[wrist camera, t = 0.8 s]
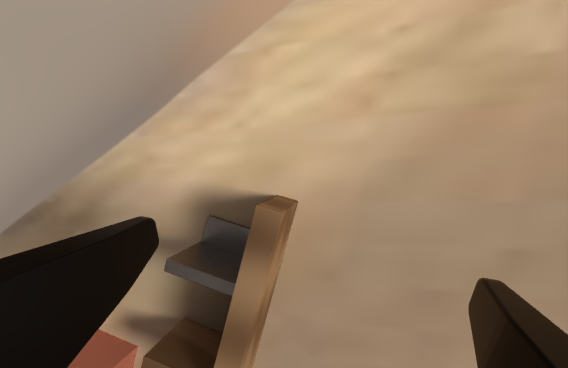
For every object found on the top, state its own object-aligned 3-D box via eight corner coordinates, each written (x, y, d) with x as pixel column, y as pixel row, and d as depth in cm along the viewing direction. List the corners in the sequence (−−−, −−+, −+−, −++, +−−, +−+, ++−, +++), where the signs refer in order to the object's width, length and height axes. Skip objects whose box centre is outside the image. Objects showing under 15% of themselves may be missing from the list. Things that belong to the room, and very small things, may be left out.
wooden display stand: (245, 392, 23) (212, 467, 18) (173, 362, 25) (120, 422, 19) (298, 201, 22) (281, 213, 16) (218, 177, 23) (176, 180, 17)
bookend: (264, 273, 23) (243, 302, 18) (200, 250, 24) (163, 272, 19) (274, 236, 22) (255, 255, 17) (209, 215, 23) (173, 227, 18)
